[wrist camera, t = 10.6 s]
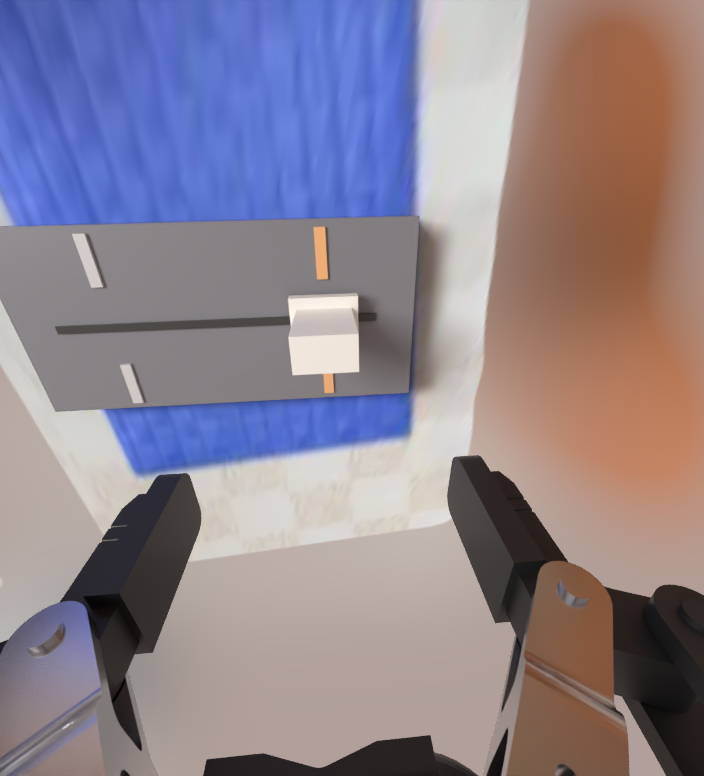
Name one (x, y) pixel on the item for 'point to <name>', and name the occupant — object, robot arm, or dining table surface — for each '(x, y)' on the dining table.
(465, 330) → the dining table surface
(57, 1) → the dining table surface
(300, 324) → the fader tab
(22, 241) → the fader console
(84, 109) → the dining table surface
